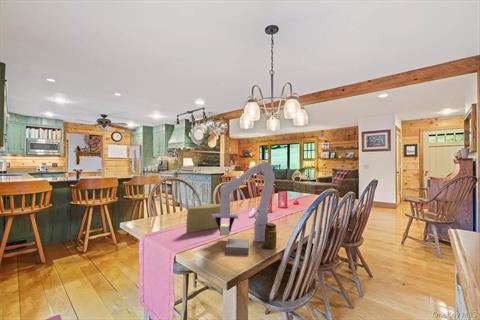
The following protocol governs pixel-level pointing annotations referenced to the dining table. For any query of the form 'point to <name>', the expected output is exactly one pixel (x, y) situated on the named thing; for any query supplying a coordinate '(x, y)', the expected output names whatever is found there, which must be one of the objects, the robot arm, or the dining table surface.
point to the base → (237, 246)
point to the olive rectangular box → (202, 218)
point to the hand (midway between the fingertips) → (225, 231)
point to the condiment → (270, 238)
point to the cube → (224, 229)
